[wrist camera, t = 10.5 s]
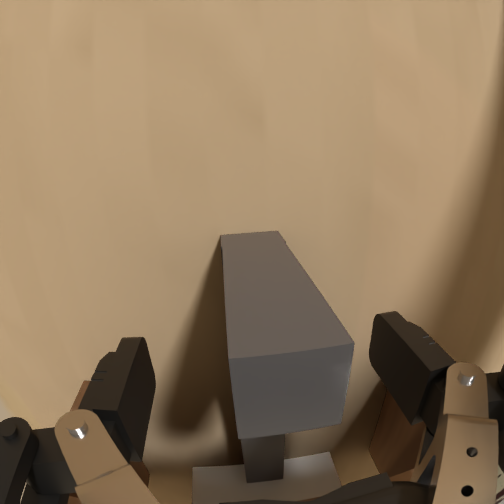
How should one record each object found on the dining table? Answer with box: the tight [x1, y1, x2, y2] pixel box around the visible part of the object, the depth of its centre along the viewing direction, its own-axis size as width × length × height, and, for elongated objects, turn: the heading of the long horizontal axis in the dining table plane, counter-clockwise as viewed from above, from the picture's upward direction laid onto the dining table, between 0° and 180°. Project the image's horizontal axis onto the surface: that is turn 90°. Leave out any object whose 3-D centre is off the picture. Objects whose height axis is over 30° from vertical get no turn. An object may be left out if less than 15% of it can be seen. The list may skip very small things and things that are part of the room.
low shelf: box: [68, 381, 426, 504], centre depth 13 cm, size 20×10×10 cm, turn 93°
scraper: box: [192, 231, 354, 504], centre depth 13 cm, size 10×18×9 cm, turn 3°
